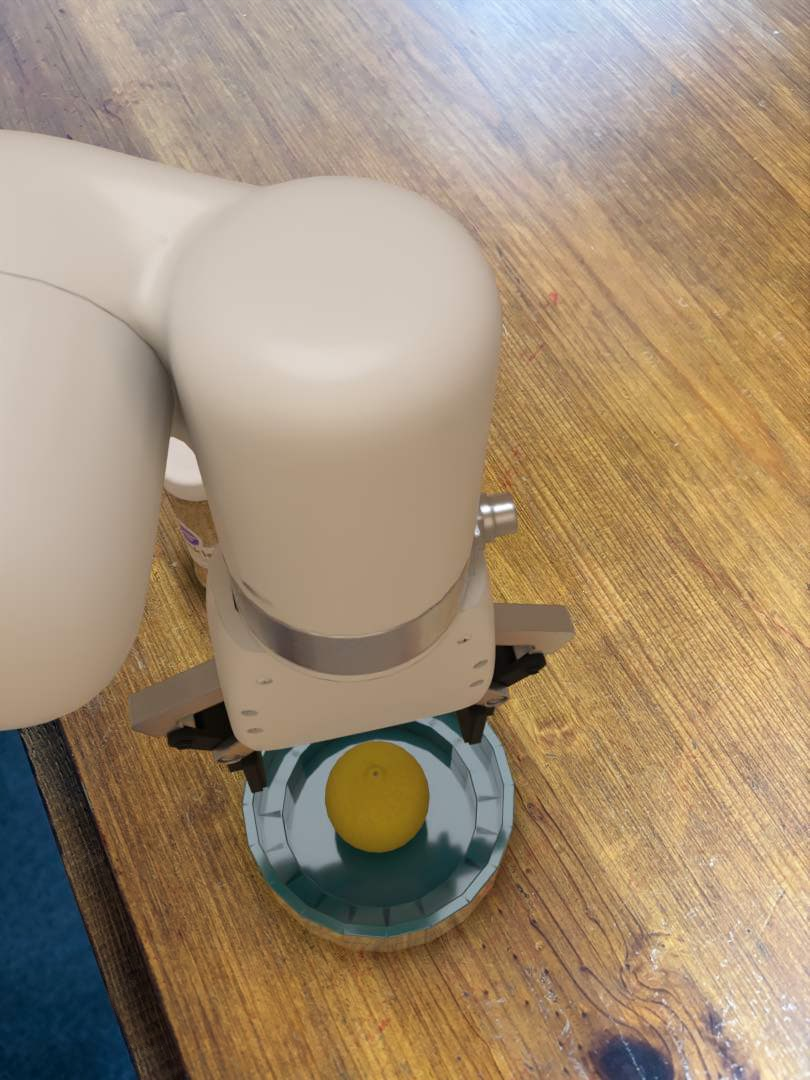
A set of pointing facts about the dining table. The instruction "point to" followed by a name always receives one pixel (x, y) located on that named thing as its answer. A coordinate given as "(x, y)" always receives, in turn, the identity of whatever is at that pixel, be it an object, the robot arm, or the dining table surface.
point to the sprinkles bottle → (190, 505)
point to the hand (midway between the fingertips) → (360, 736)
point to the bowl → (394, 876)
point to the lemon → (377, 796)
